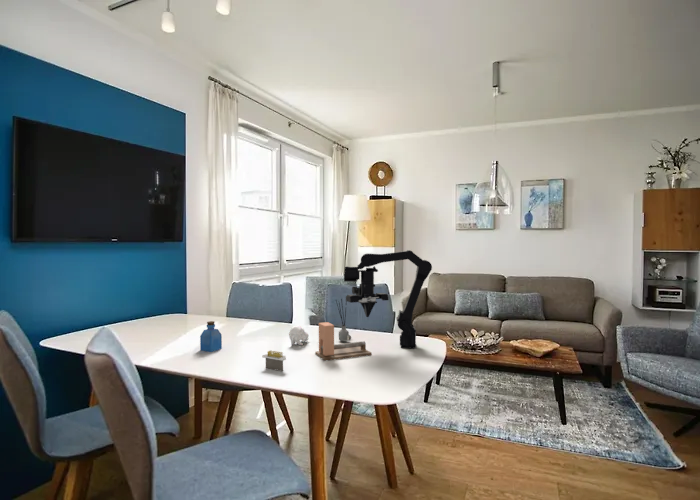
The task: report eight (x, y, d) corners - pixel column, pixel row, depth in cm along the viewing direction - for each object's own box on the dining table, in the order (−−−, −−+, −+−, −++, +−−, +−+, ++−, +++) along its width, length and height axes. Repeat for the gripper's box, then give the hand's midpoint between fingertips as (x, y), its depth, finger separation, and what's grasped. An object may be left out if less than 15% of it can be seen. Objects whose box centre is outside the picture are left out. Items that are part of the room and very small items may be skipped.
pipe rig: (360, 348, 183) (360, 337, 183) (371, 355, 173) (371, 343, 173) (315, 353, 175) (315, 342, 175) (324, 360, 165) (324, 348, 165)
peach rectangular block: (327, 350, 175) (327, 322, 175) (334, 354, 168) (334, 325, 168) (318, 351, 173) (318, 322, 173) (324, 355, 167) (324, 326, 167)
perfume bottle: (200, 350, 181) (200, 322, 181) (211, 347, 187) (210, 320, 187) (210, 352, 179) (210, 323, 178) (221, 348, 184) (221, 321, 184)
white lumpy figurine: (288, 326, 189) (301, 323, 200) (287, 345, 189) (300, 341, 200) (300, 327, 187) (312, 324, 198) (299, 346, 186) (312, 343, 197)
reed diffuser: (344, 344, 192) (344, 300, 191) (330, 342, 195) (330, 299, 194) (353, 339, 201) (353, 297, 200) (340, 337, 204) (340, 296, 203)
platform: (267, 362, 165) (267, 345, 164) (305, 368, 156) (305, 351, 156) (245, 370, 154) (245, 352, 154) (285, 378, 145) (285, 359, 145)
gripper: (377, 279, 198) (377, 312, 199) (340, 281, 191) (341, 315, 191) (389, 281, 188) (389, 316, 188) (350, 283, 180) (351, 319, 181)
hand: (367, 316), depth 187 cm, fingers closed
